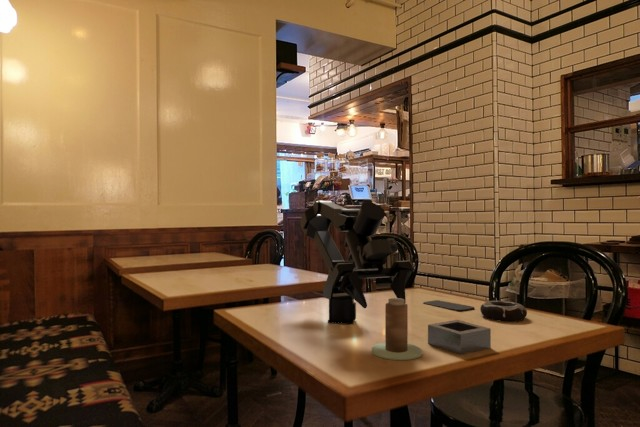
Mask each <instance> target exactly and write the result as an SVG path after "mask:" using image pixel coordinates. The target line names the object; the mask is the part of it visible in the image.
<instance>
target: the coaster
mask: <svg viewBox="0 0 640 427" xmlns="http://www.w3.org/2000/svg"><path fill="white" fill-rule="evenodd" d="M371 354H373V355H374V356H376V357H378V358H381V359H385V360H391V361H411V360H416V359H419V358H421V356H422V355H423V350H422V348H420V347H419V346H417V345H415V344H413V343H412V344H411V343H408V350H407V351H406V352H400V353H397V352H390V351H387V350H386V349H385V341H384V342H379V343H376V344H373V345H372V347H371Z"/></svg>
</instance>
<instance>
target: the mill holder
mask: <svg viewBox="0 0 640 427" xmlns="http://www.w3.org/2000/svg"><path fill="white" fill-rule="evenodd" d="M491 330H492V329H491V328H490V327H486V326H482V325H479V324H474V323H472V322H471V323H470V322H466V321H463V320H460V319H454V320H448V321H441V322H436V323H430V324H427V344H429V345H431V346H432V345H433V346H435V347H438V348H440V349H444V350H446V351H449V352H452V353H455V354H458V355H465V354H469V353H473V352H474V353H475V352H478V351H482V350H487V349H490V348H491V343H492V342H491V341H492V340H491V338H492V337H491V333H492V332H491Z"/></svg>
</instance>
